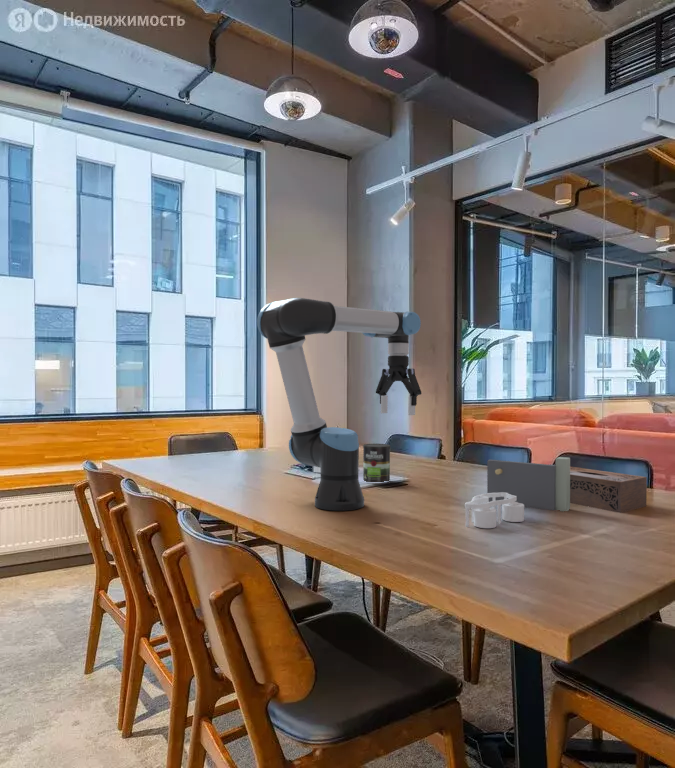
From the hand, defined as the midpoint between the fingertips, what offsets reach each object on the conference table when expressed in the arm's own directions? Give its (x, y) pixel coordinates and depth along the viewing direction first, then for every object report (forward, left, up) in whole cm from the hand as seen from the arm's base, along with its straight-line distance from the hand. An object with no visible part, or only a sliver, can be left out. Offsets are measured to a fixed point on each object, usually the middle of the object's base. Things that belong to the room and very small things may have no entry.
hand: (397, 414), depth 209 cm
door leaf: (-10, -48, -26) cm, 56 cm away
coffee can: (+3, +11, -27) cm, 29 cm away
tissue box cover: (+9, -64, -27) cm, 70 cm away
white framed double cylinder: (-33, -48, -27) cm, 64 cm away
